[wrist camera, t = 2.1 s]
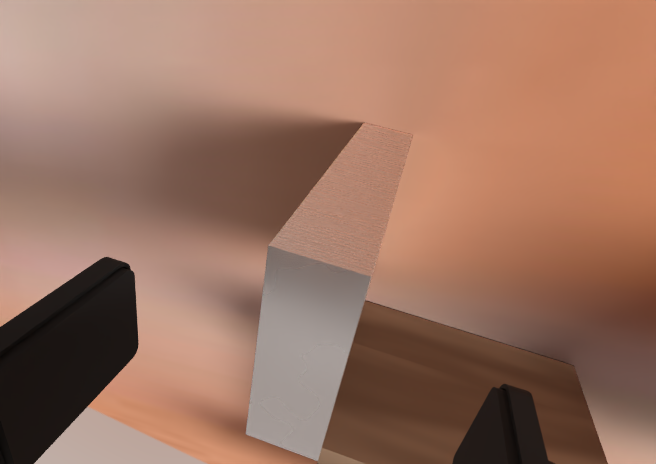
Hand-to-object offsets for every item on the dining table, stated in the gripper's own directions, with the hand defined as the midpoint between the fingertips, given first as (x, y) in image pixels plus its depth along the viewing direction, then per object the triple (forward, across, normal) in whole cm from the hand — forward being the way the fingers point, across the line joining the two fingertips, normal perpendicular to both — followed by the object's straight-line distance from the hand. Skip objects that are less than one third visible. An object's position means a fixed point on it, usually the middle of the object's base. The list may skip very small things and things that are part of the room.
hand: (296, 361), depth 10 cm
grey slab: (+9, 0, -1) cm, 9 cm away
